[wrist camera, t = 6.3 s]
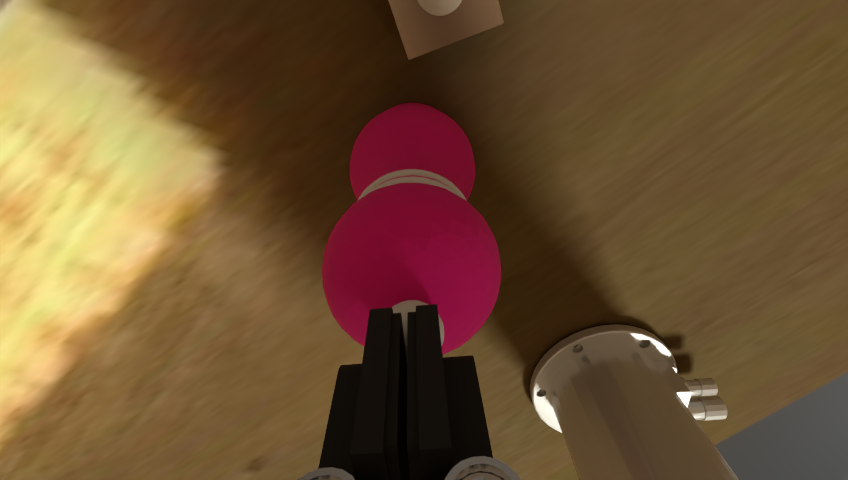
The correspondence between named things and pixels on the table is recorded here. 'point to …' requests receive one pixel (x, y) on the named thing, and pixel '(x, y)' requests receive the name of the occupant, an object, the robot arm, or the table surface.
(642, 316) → the table surface
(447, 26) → the walnut block
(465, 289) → the pepper mill
